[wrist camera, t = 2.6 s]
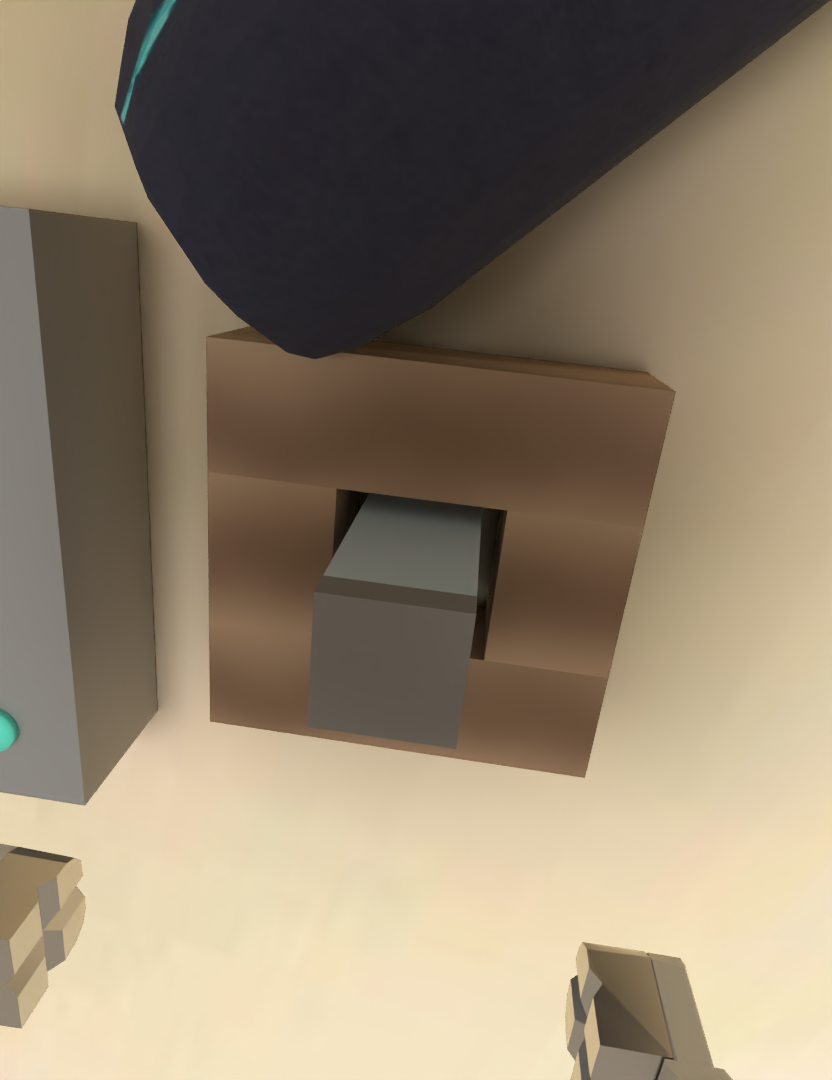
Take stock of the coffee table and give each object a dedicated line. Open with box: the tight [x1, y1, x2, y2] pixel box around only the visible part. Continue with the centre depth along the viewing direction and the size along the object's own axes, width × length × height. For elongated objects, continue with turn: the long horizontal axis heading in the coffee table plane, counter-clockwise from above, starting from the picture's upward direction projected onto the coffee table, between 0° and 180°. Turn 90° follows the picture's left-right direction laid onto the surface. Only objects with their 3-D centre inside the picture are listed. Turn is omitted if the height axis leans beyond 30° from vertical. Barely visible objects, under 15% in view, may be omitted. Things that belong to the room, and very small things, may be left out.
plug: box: [307, 493, 482, 749], centre depth 22 cm, size 4×4×10 cm
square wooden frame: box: [206, 327, 676, 778], centre depth 25 cm, size 14×14×4 cm
